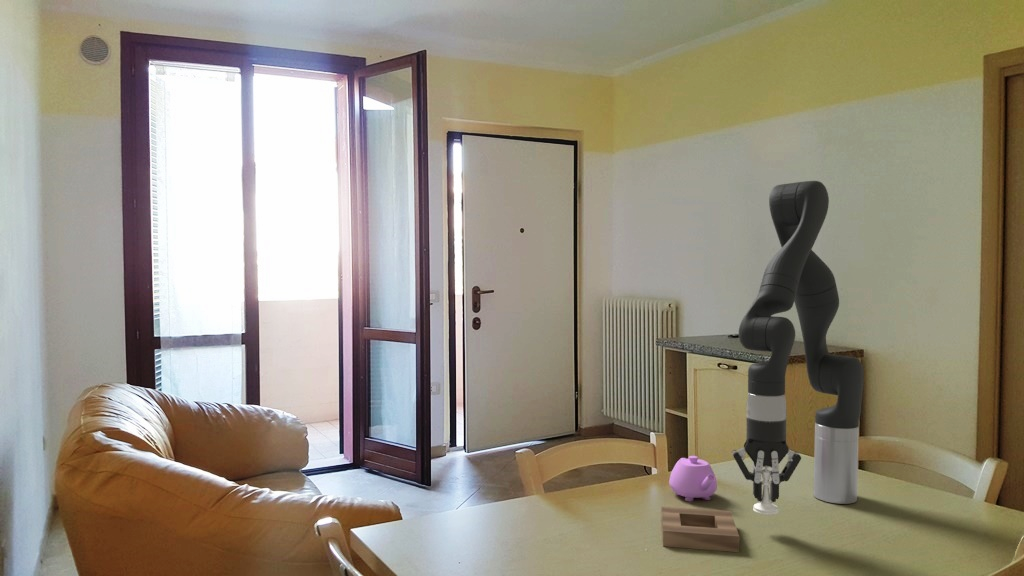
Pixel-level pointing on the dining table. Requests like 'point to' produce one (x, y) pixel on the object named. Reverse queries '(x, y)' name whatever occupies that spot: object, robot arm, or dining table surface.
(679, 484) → the teapot
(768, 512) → the chess piece
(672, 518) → the socket block
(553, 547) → the dining table surface
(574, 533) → the dining table surface
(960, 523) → the dining table surface
